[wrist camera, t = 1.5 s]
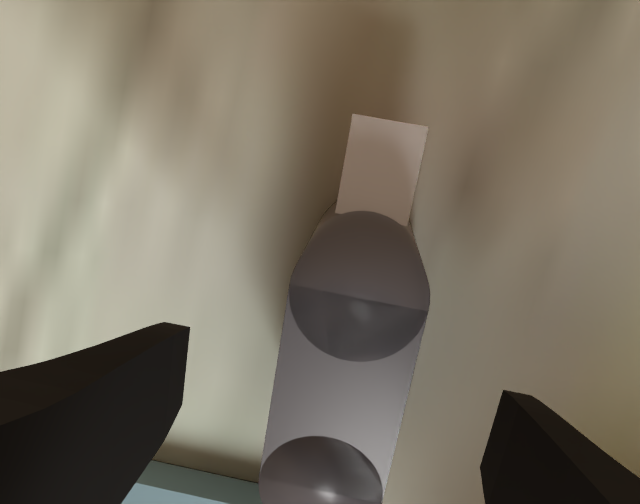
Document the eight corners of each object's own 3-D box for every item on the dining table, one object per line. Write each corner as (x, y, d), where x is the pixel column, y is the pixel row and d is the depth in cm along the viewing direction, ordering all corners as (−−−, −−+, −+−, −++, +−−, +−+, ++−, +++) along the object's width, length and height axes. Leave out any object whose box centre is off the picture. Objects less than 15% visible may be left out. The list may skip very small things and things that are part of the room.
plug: (439, 128, 15) (471, 134, 10) (371, 432, 17) (369, 553, 12) (336, 110, 15) (317, 107, 10) (285, 414, 17) (250, 527, 13)
